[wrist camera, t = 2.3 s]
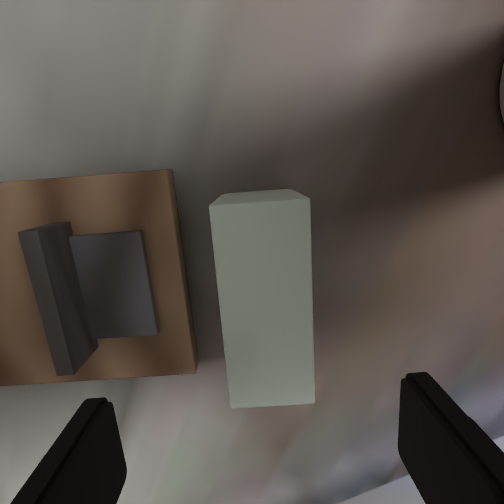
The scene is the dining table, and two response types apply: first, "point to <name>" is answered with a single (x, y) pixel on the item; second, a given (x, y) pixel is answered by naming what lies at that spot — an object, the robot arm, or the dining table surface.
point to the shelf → (93, 280)
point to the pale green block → (265, 296)
